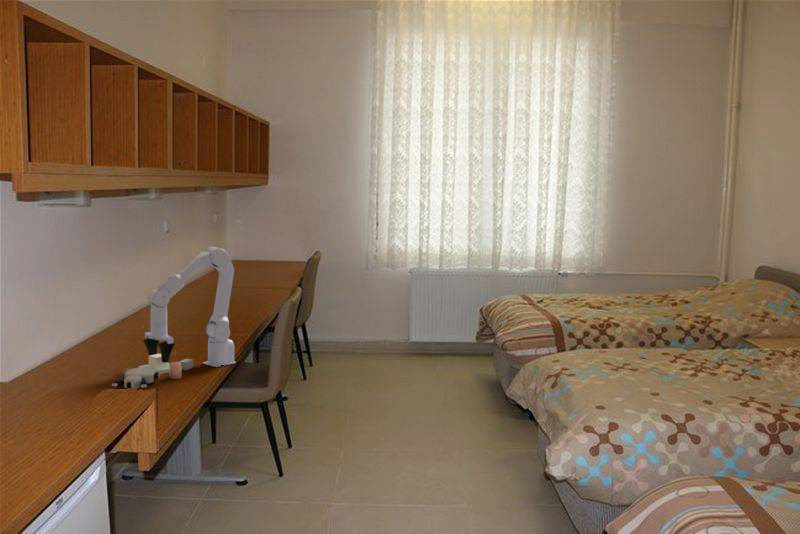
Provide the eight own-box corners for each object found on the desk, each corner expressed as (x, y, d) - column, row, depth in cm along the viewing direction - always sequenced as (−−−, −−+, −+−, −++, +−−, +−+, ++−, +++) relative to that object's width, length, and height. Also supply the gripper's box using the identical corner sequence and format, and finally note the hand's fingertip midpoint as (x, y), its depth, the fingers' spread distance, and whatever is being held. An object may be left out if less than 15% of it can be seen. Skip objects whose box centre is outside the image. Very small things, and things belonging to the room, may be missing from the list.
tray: (162, 365, 261) (162, 361, 261) (179, 370, 255) (179, 366, 255) (138, 370, 253) (138, 366, 253) (154, 375, 247) (154, 371, 247)
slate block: (185, 366, 262) (185, 358, 261) (193, 367, 261) (193, 359, 261) (178, 369, 257) (178, 361, 256) (186, 370, 256) (186, 362, 256)
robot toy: (147, 395, 227) (163, 380, 242) (146, 382, 226) (163, 367, 241) (109, 394, 227) (128, 378, 242) (108, 380, 226) (127, 365, 241)
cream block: (159, 367, 257) (159, 353, 257) (166, 369, 254) (167, 355, 254) (148, 369, 254) (148, 355, 253) (156, 371, 251) (156, 357, 250)
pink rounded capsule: (176, 375, 249) (176, 361, 248) (183, 377, 246) (183, 363, 246) (167, 377, 246) (167, 363, 245) (173, 379, 243) (173, 365, 243)
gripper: (137, 321, 254) (137, 358, 255) (161, 327, 245) (161, 365, 247) (154, 319, 259) (154, 355, 261) (178, 324, 251) (178, 362, 252)
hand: (159, 360), depth 254 cm, fingers open, 7 cm apart
